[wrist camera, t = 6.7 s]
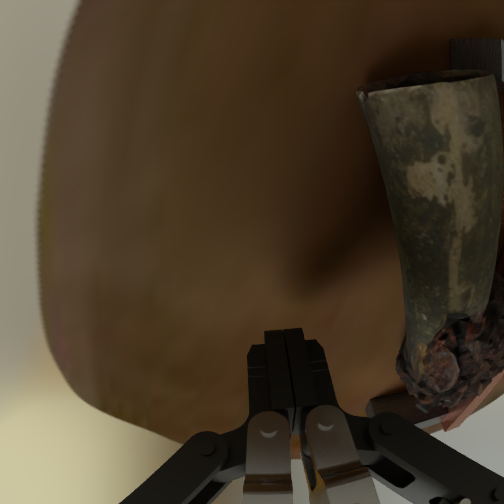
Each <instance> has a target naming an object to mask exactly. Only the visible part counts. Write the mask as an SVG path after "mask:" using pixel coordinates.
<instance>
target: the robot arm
mask: <svg viewBox="0 0 504 504" xmlns="http://www.w3.org/2000/svg"><path fill="white" fill-rule="evenodd" d="M264 341H265V344H259V345H252V346H251V348H250V350H249V352H248V355H247V365H248V388H249V416H248V418H247V420H246V422H245V423H244V424H243V425H242V426H241V427H239V428H237V429H235V430H233V431H230V432H227V433H224V434H221V435H219V434H217V433H215V432H210V431H204V432H199V433H197V434H195V435H193V436H192V437H191V438H190V439H189V440H188V441H187V442H186V443H185V444H184V445H183V446H182V447H181V448H180V449H179V450H178V451H177V452H176V453H175V454H174V455H173V456H172V457H170V458H169V459H168V460H167V461H166V462H165V463H164V464H163V465H162V466H161V467H160V468H159V469H158V470H157V471H156V472H155V473H153V474H152V475H151V476H150V477H149V478H148V479H147V480H146V481H145V482H143V483H142V484H141V485H140V486H139V487H138V488H137V489H136V490H134V491H133V492H132V493H131V494H130V495H129V496H127V497H126V498H125V499H124V500H123V501H122V502H120V503H119V504H211V503H212V502H213V501H214V500H215V499H216V498H217V497H218V496H219V495H220V494H221V493H222V491H223V490H224V489H225V488H226V487H227V486H228V485H229V484H230V483H231V482H232V481H233V480H235V479H238V478H240V477H243V476H245V481H244V485H243V499H242V504H293V487H292V480H291V455H290V437H291V432H293V434H299V437H300V444H301V445H300V454H301V459H302V463H303V468H304V472H305V476H306V480H307V485H308V489H309V502H310V504H380V501H379V498H378V495H377V492H376V489H375V485H374V482H373V479H372V477H373V478H375V479H376V480H377V481H379V482H381V483H382V484H384V485H385V486H387V487H388V488H390V489H391V490H393V491H394V492H396V493H397V494H399V495H400V496H402V497H404V498H405V499H407V500H408V501H410V502H412V503H413V504H504V477H502V476H500V475H498V474H496V473H495V472H493V471H491V470H489V469H487V468H486V467H484V466H482V465H480V464H479V463H477V462H475V461H473V460H471V459H470V458H468V457H466V456H465V455H463V454H461V453H459V452H458V451H456V450H454V449H453V448H451V447H449V446H448V445H446V444H444V443H443V442H441V441H439V440H438V439H436V438H434V437H433V436H431V435H430V434H428V433H426V432H425V431H423V430H422V429H420V428H418V427H417V426H415V425H414V424H412V423H410V422H409V421H407V420H406V419H404V418H403V417H401V416H399V415H398V414H396V413H393V412H381V413H379V414H377V415H375V416H374V417H373V418H369V417H359V416H353V415H350V414H348V413H346V412H345V411H343V410H342V409H341V408H340V406H339V405H338V403H337V400H336V396H335V392H334V388H333V384H332V380H331V376H330V372H329V370H328V364H327V361H326V357H325V353H324V349H323V348H322V346H321V345H320V344H319V343H318V342H317V340H316V339H314V340H305V339H304V334H303V330H302V328H293V329H283V330H270V331H264Z"/></svg>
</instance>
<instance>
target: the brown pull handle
mask: <svg viewBox="0 0 504 504" xmlns="http://www.w3.org/2000/svg"><path fill="white" fill-rule="evenodd" d="M450 47H451V70H482V71H483V70H486V71H490V72H491V73H492V74H493V75H494V77H495V81H496V86H497V88H498V89H500V90H503V91H504V41H503V40H502V39H450ZM495 270H496V271H497V272H498V273H499V274H500V275H501V276H502V277H503V279H504V247H503V249H502V252H501V255H500V258H499V260H498V263H497V266H496V268H495ZM503 374H504V370H503V371H502V373H499V374H498V375H496V376H495V377H494V378H492V382H491V383H490V384H489V385H488V386H487V387H486V388H485V390H484V391H483V392H482V393H481V395H480V396H478V395H476V394H475V395H474V396H473V397H470V398H469V399H467V400H466V401H464V402H462V403H460V404H457V406H456V405H455V406H454V407H452V408H450V407H444V408H443V406H442V404H441V405H438V406H436V407H435V408H434V407H433V406H432V407H431V409H430V411H429V412H428V413H424V412H422V411H421V410H420V409H419V408H418V407H416V402H417V399H416V398H415V396H414V395H413V394H412V395H409V393H408V392H404V393H400V394H396V395H391V396H387V397H382V398H378V399H373V400H370V401H369V403H368V405H367V407H366V409H365V410H366V414H367V417H369V418H373V417H374V416H375V415H377V414H379V413H381V412H393V413H396V414H398V415H399V416H401V417H403V418H404V419H406V420H407V421H409V422H410V423H412V424H414V425H415V426H417V427H418V428H420V429H422V428H425V427H428V426H431V425H434V424H437V423H440V422H441V424H442V427H443V429H444V432H446V431H449V430H451V429H454V428H456V427H459V426H460V425H461V423H463V422H464V420H465V419H466V418H467V417H468V416H469V415H470V414H471V413H472V412H473V411H474V410H475V409H476V407H477V406H478V405H479V404H480V403H481V402H482V400H483V399H484V398H485V397H486V396H487V395H488V393H489V392H490V391H491V390H492V388H493V387H494V386H495V385H496V383H497V382H498V381H499V380H500V378H501V377H502V376H503Z"/></svg>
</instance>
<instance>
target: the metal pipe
mask: <svg viewBox="0 0 504 504" xmlns="http://www.w3.org/2000/svg"><path fill="white" fill-rule="evenodd" d="M355 92H356V95H357V98H358V101H359V104H360V106H361V109H362V111H363V114H364V116H365V119H366V121H367V124H368V127H369V130H370V134H371V137H372V141H373V144H374V147H375V151H376V154H377V158H378V161H379V165H380V169H381V173H382V177H383V181H384V185H385V189H386V193H387V198H388V202H389V206H390V211H391V215H392V220H393V225H394V230H395V235H396V240H397V245H398V250H399V256H400V263H401V271H402V281H403V292H404V304H405V314H406V336H407V337H406V339H405V341H404V343H403V345H402V346H401V348H400V350H399V354H398V356H397V358H396V371H397V374H398V375H399V376H400V379H401V380H402V381H403V382H404V383H405V384H406V387H407V390H408V393H409V395H412V394H413V395H414V396H415V398H416V399H417V402H416V407H418V408H419V409H420V410H421V411H422V412H424V413H428V412H429V411H430V409H431V407H432V406H433V407H434V408H435V407H436V406H438V405H441V404H442V406H443V408H444V407H450V408H452V407H454V406H455V405H456V406H457V404H460V403H462V402H464V401H466V400H467V399H469V398H470V397H473V396H474V395H475V394H476V395H478V396H480V395H481V393H482V392H483V391H484V390H485V388H486V387H487V386H488V385H489V384H490V383H491V382H492V378H494V377H495V376H496V375H498V374H499V373H502V371H503V370H504V279H503V277H502V276H501V275H500V274H499V273H498V272H497V271H496V270H495V264H496V258H497V250H498V241H499V234H500V227H501V217H502V202H503V183H504V164H503V138H502V124H501V113H500V105H499V98H498V92H497V86H496V81H495V77H494V75H493V74H492V73H491V72H490V71H486V70H483V71H482V70H446V71H427V72H423V73H410V74H406V75H402V76H398V77H395V78H392V79H383V80H378V81H374V82H371V83H369V84H367V85H365V86H361V87H359V88H358V89H357V91H355Z"/></svg>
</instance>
